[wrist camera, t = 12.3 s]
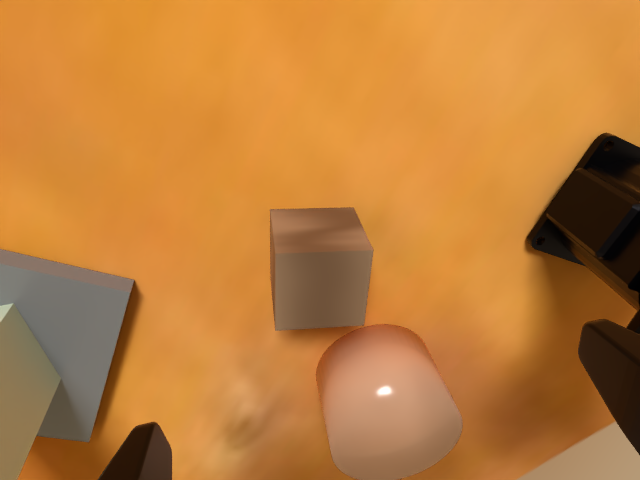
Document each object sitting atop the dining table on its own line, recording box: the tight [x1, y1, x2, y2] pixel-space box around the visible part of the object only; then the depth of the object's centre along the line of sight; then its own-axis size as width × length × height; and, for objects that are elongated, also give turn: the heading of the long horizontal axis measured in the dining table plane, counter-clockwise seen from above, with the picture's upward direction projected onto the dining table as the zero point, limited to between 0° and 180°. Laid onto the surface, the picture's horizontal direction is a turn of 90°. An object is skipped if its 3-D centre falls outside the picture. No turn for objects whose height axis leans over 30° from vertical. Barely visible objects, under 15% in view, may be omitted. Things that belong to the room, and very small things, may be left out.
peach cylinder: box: [316, 324, 462, 480], centre depth 26 cm, size 7×7×5 cm
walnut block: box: [270, 208, 373, 331], centre depth 21 cm, size 4×4×4 cm
